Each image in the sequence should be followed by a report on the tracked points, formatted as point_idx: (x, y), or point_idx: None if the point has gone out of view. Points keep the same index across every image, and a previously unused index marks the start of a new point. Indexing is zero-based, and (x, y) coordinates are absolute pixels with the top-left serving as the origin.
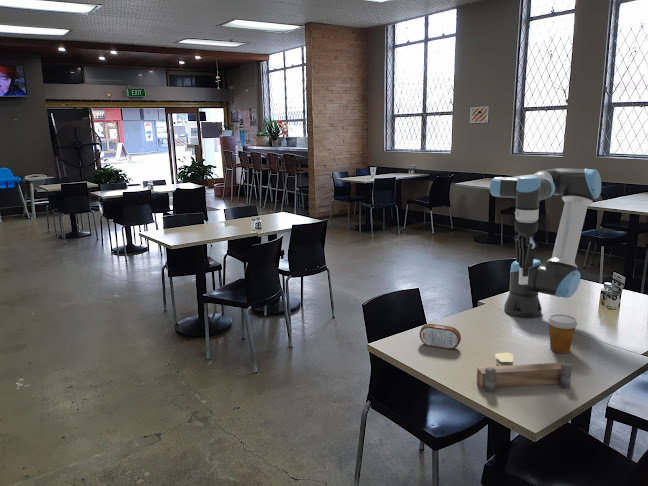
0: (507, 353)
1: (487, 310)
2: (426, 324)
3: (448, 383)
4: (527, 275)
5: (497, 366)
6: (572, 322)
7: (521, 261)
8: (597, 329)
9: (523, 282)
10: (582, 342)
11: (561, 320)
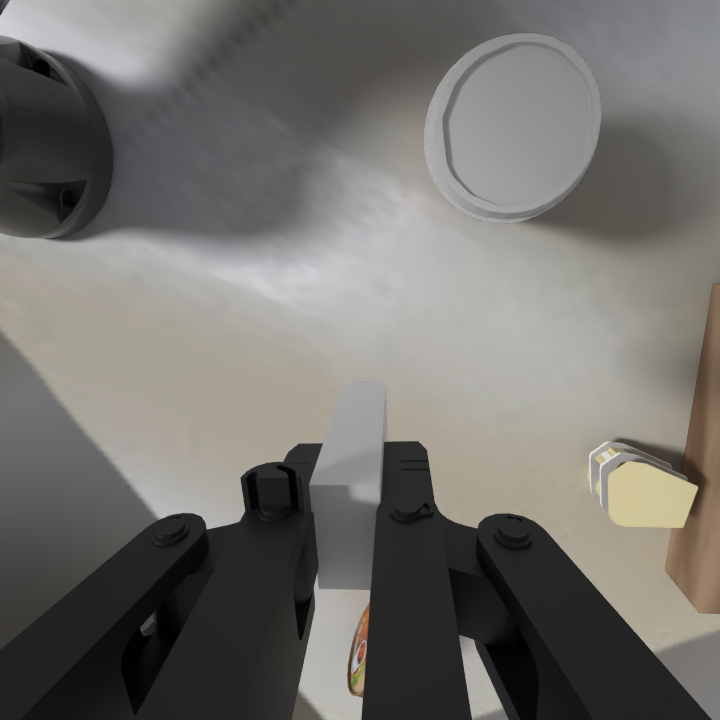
0: (617, 476)
1: (34, 311)
2: (358, 695)
3: (651, 643)
4: (426, 455)
5: (713, 550)
6: (597, 92)
7: (303, 644)
8: None
9: (386, 432)
10: (414, 6)
11: (531, 146)
